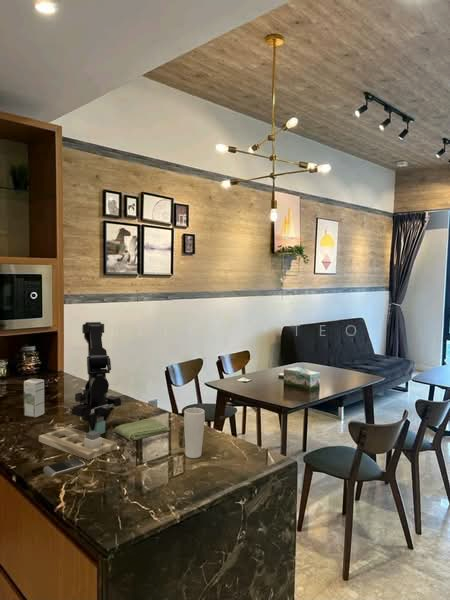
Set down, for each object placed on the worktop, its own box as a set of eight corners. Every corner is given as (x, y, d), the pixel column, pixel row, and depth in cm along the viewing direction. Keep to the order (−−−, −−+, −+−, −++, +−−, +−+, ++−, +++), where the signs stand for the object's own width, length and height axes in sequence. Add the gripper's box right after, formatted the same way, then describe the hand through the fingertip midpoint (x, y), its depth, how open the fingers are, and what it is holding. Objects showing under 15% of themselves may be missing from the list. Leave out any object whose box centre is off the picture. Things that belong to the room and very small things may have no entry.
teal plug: (97, 430, 169) (98, 414, 169) (105, 432, 167) (105, 416, 166) (89, 433, 166) (89, 417, 165) (96, 435, 163) (96, 419, 163)
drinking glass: (183, 451, 151) (184, 407, 150) (203, 451, 151) (204, 407, 150) (183, 460, 144) (184, 413, 143) (204, 459, 145) (205, 413, 144)
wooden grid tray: (67, 431, 166) (67, 426, 166) (117, 448, 152) (117, 442, 152) (38, 441, 156) (38, 435, 156) (88, 460, 142) (88, 454, 142)
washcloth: (171, 432, 170) (171, 424, 169) (130, 443, 158) (130, 434, 158) (152, 423, 179) (152, 415, 179) (112, 433, 167) (112, 424, 167)
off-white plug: (93, 447, 152) (93, 430, 152) (101, 450, 150) (101, 432, 150) (84, 451, 149) (84, 433, 149) (92, 454, 147) (92, 436, 146)
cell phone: (86, 468, 137) (86, 463, 137) (50, 478, 130) (50, 474, 130) (77, 461, 142) (77, 457, 142) (42, 471, 134) (42, 467, 134)
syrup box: (44, 413, 186) (45, 379, 186) (34, 417, 181) (34, 382, 180) (33, 412, 188) (33, 377, 187) (23, 416, 183) (23, 380, 182)
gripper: (102, 379, 177) (102, 417, 178) (62, 388, 162) (61, 430, 163) (122, 383, 171) (121, 423, 172) (82, 393, 156) (82, 437, 157)
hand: (97, 428), depth 166 cm, fingers closed on teal plug, 4 cm apart
